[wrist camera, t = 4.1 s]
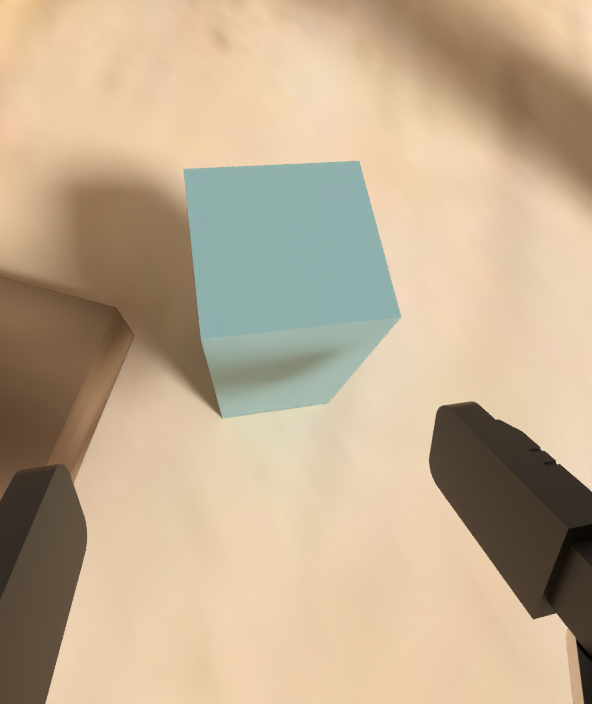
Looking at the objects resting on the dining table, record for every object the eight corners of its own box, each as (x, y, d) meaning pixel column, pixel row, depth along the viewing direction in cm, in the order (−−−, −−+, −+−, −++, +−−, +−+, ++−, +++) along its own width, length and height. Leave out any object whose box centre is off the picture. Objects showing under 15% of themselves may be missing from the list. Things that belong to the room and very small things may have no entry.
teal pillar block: (211, 319, 21) (183, 169, 11) (309, 309, 22) (359, 160, 12) (222, 418, 19) (200, 339, 10) (328, 403, 20) (400, 316, 11)
